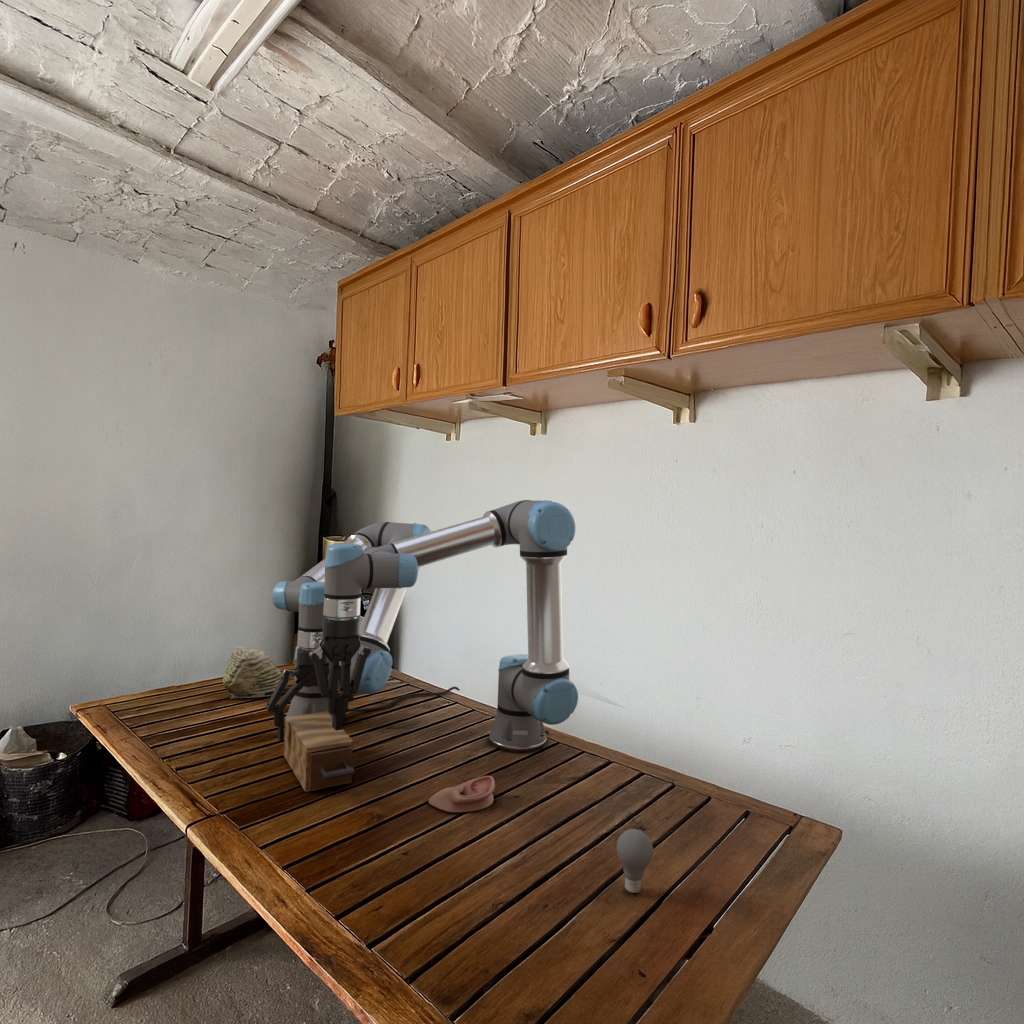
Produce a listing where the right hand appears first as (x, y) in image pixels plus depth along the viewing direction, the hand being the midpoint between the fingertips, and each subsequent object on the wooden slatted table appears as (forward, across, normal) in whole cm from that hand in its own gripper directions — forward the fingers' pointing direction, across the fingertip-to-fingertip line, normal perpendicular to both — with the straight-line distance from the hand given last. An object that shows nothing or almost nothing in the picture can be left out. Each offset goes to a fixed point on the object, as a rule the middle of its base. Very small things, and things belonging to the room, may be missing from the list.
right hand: (337, 727), depth 134 cm
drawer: (+14, 0, +10) cm, 17 cm away
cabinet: (+15, 0, +15) cm, 21 cm away
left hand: (+9, 0, +21) cm, 23 cm away
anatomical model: (+15, +23, -14) cm, 31 cm away
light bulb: (+15, +34, -55) cm, 66 cm away
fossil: (+15, -3, +77) cm, 78 cm away
